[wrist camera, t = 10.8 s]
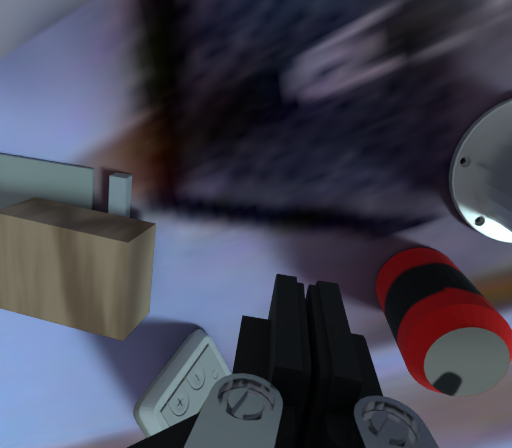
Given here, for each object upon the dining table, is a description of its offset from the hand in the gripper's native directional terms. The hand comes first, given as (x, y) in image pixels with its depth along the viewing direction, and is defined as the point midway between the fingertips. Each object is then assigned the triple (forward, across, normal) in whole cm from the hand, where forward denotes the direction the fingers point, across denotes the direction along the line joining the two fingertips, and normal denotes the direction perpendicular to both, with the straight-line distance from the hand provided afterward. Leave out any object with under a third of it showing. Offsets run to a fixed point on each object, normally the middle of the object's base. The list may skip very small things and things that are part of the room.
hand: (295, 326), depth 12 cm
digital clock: (+27, +3, +26) cm, 38 cm away
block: (+22, +11, +12) cm, 28 cm away
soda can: (+27, -14, +10) cm, 32 cm away
